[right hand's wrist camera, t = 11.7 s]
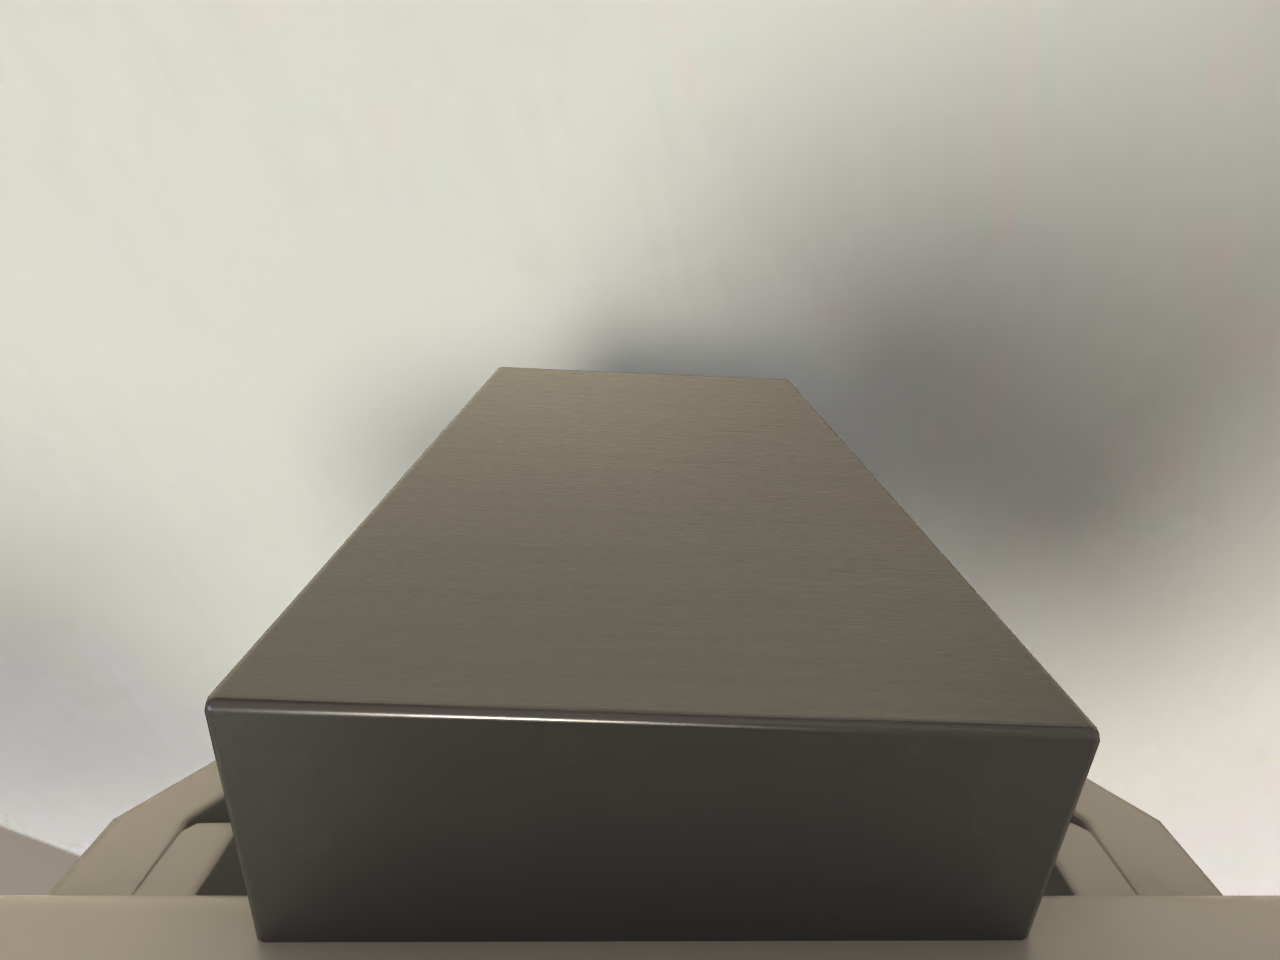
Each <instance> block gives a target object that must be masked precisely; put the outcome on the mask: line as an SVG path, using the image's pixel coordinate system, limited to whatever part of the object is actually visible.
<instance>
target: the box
mask: <svg viewBox="0 0 1280 960" xmlns="http://www.w3.org/2000/svg"><path fill="white" fill-rule="evenodd" d="M205 715H206V719H207V723H208V728H209V732H210V736H211V741H212V745H213V749H214V754H215V758H216V762H217V767H218V771H219V775H220V779H221V784H222V788H223V792H224V797H225V801H226V805H227V810H228V814H229V818H230V823H231V827H232V831H233V836H234V840H235V844H236V848H237V853H238V857H239V861H240V866H241V870H242V874H243V879H244V883H245V887H246V892H247V896H248V900H249V904H250V909H251V913H252V917H253V922H254V926H255V930H256V935H257V939H258V940H260V941H262V942H610V941H991V940H1023V939H1025V938H1027V937H1028V935H1029V932H1030V929H1031V927H1032V924H1033V921H1034V918H1035V916H1036V913H1037V910H1038V908H1039V905H1040V902H1041V899H1042V897H1043V894H1044V891H1045V889H1046V886H1047V883H1048V880H1049V878H1050V875H1051V872H1052V870H1053V867H1054V864H1055V862H1056V859H1057V856H1058V853H1059V851H1060V848H1061V845H1062V843H1063V840H1064V837H1065V834H1066V832H1067V829H1068V826H1069V824H1070V821H1071V818H1072V815H1073V813H1074V810H1075V807H1076V805H1077V802H1078V799H1079V797H1080V794H1081V791H1082V788H1083V786H1084V783H1085V780H1086V778H1087V775H1088V772H1089V769H1090V767H1091V764H1092V761H1093V759H1094V756H1095V753H1096V750H1097V748H1098V745H1099V742H1100V738H1099V732H1098V730H1097V727H1096V726H1095V725H1094V724H1093V723H1092V722H1091V721H1090V720H1089V718H1088V717H1087V716H1086V715H1085V714H1084V713H1083V712H1082V711H1081V709H1080V708H1079V707H1078V706H1077V705H1076V704H1075V703H1074V702H1073V700H1072V699H1071V698H1070V697H1069V696H1068V695H1067V694H1066V693H1065V691H1064V690H1063V689H1062V688H1061V687H1060V686H1059V685H1058V684H1057V682H1056V681H1055V680H1054V679H1053V678H1052V677H1051V676H1050V675H1049V673H1048V672H1047V671H1046V670H1045V669H1044V668H1043V667H1042V665H1041V664H1040V663H1039V662H1038V661H1037V660H1036V659H1035V658H1034V656H1033V655H1032V654H1031V653H1030V652H1029V651H1028V650H1027V649H1026V647H1025V646H1024V645H1023V644H1022V643H1021V642H1020V641H1019V640H1018V638H1017V637H1016V636H1015V635H1014V634H1013V633H1012V632H1011V631H1010V629H1009V628H1008V627H1007V626H1006V625H1005V624H1004V623H1003V622H1002V620H1001V619H1000V618H999V617H998V616H997V615H996V614H995V613H994V611H993V610H992V609H991V608H990V607H989V606H988V605H987V604H986V602H985V601H984V600H983V599H982V598H981V597H980V596H979V595H978V593H977V592H976V591H975V590H974V589H973V588H972V587H971V586H970V584H969V583H968V582H967V581H966V580H965V579H964V578H963V577H962V575H961V574H960V573H959V572H958V571H957V570H956V569H955V567H954V566H953V565H952V564H951V563H950V562H949V561H948V560H947V558H946V557H945V556H944V555H943V554H942V553H941V552H940V551H939V549H938V548H937V547H936V546H935V545H934V544H933V543H932V542H931V540H930V539H929V538H928V537H927V536H926V535H925V534H924V533H923V531H922V530H921V529H920V528H919V527H918V526H917V525H916V524H915V522H914V521H913V520H912V519H911V518H910V517H909V516H908V515H907V513H906V512H905V511H904V510H903V509H902V508H901V507H900V506H899V504H898V503H897V502H896V501H895V500H894V499H893V498H892V497H891V495H890V494H889V493H888V492H887V491H886V490H885V489H884V488H883V486H882V485H881V484H880V483H879V482H878V481H877V480H876V479H875V477H874V476H873V475H872V474H871V473H870V472H869V471H868V470H867V468H866V467H865V466H864V465H863V464H862V463H861V462H860V460H859V459H858V458H857V457H856V456H855V455H854V454H853V453H852V451H851V450H850V449H849V448H848V447H847V446H846V445H845V444H844V442H843V441H842V440H841V439H840V438H839V437H838V436H837V435H836V433H835V432H834V431H833V430H832V429H831V428H830V427H829V426H828V424H827V423H826V422H825V421H824V420H823V419H822V418H821V417H820V415H819V414H818V413H817V412H816V411H815V410H814V409H813V408H812V406H811V405H810V404H809V403H808V402H807V401H806V400H805V399H804V397H803V396H802V395H801V394H800V393H799V392H798V391H797V390H796V388H795V387H794V386H793V385H792V384H791V383H790V382H789V381H788V380H779V379H757V378H734V377H712V376H690V375H667V374H645V373H622V372H600V371H577V370H555V369H532V368H510V367H501V368H498V370H497V371H496V372H495V373H494V374H493V375H492V376H491V377H490V379H489V380H488V381H487V382H486V383H485V384H484V385H483V386H482V388H481V389H480V390H479V391H478V392H477V393H476V394H475V396H474V397H473V398H472V399H471V400H470V401H469V402H468V403H467V405H466V406H465V407H464V408H463V409H462V410H461V411H460V412H459V414H458V415H457V416H456V417H455V418H454V419H453V420H452V422H451V423H450V424H449V425H448V426H447V427H446V428H445V429H444V431H443V432H442V433H441V434H440V435H439V436H438V437H437V439H436V440H435V441H434V442H433V443H432V444H431V445H430V446H429V448H428V449H427V450H426V451H425V452H424V453H423V454H422V455H421V457H420V458H419V459H418V460H417V461H416V462H415V463H414V465H413V466H412V467H411V468H410V469H409V470H408V471H407V472H406V474H405V475H404V476H403V477H402V478H401V479H400V480H399V482H398V483H397V484H396V485H395V486H394V487H393V488H392V489H391V491H390V492H389V493H388V494H387V495H386V496H385V497H384V498H383V500H382V501H381V502H380V503H379V504H378V505H377V506H376V508H375V509H374V510H373V511H372V512H371V513H370V514H369V515H368V517H367V518H366V519H365V520H364V521H363V522H362V523H361V525H360V526H359V527H358V528H357V529H356V530H355V531H354V532H353V534H352V535H351V536H350V537H349V538H348V539H347V540H346V541H345V543H344V544H343V545H342V546H341V547H340V548H339V549H338V551H337V552H336V553H335V554H334V555H333V556H332V557H331V558H330V560H329V561H328V562H327V563H326V564H325V565H324V566H323V567H322V569H321V570H320V571H319V572H318V573H317V574H316V575H315V577H314V578H313V579H312V580H311V581H310V582H309V583H308V584H307V586H306V587H305V588H304V589H303V590H302V591H301V592H300V594H299V595H298V596H297V597H296V598H295V599H294V600H293V601H292V603H291V604H290V605H289V606H288V607H287V608H286V609H285V610H284V612H283V613H282V614H281V615H280V616H279V617H278V618H277V620H276V621H275V622H274V623H273V624H272V625H271V626H270V627H269V629H268V630H267V631H266V632H265V633H264V634H263V635H262V637H261V638H260V639H259V640H258V641H257V642H256V643H255V644H254V646H253V647H252V648H251V649H250V650H249V651H248V652H247V653H246V655H245V656H244V657H243V658H242V659H241V660H240V661H239V663H238V664H237V665H236V666H235V667H234V668H233V669H232V670H231V672H230V673H229V674H228V675H227V676H226V677H225V678H224V680H223V681H222V682H221V683H220V684H219V685H218V686H217V687H216V689H215V690H214V691H213V692H212V693H211V694H210V695H209V696H208V699H207V702H206V705H205Z"/></svg>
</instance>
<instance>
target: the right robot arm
mask: <svg viewBox="0 0 1280 960" xmlns="http://www.w3.org/2000/svg"><path fill="white" fill-rule="evenodd" d="M0 960H1280V896H1223V895H1222V894H1221V893H1220V891H1219V890H1218V889H1217V888H1216V887H1215V886H1214V884H1213V883H1212V882H1211V881H1210V880H1209V878H1208V877H1207V876H1206V875H1205V874H1204V873H1203V871H1202V870H1201V869H1200V868H1199V867H1198V866H1197V864H1196V863H1195V862H1194V861H1193V860H1192V858H1191V857H1190V856H1189V855H1188V854H1187V853H1186V851H1185V850H1184V849H1183V848H1182V847H1181V846H1180V844H1179V843H1178V842H1177V841H1176V840H1175V838H1174V837H1173V836H1172V835H1171V834H1170V833H1169V831H1168V830H1167V829H1166V828H1165V827H1164V825H1163V824H1162V823H1161V822H1160V821H1159V820H1157V819H1155V818H1154V817H1152V816H1150V815H1148V814H1147V813H1145V812H1143V811H1142V810H1140V809H1138V808H1137V807H1135V806H1133V805H1131V804H1130V803H1128V802H1126V801H1125V800H1123V799H1121V798H1119V797H1118V796H1116V795H1114V794H1113V793H1111V792H1109V791H1107V790H1106V789H1104V788H1102V787H1101V786H1099V785H1097V784H1096V783H1094V782H1092V781H1090V780H1089V779H1087V778H1086V780H1085V783H1084V786H1083V788H1082V791H1081V794H1080V797H1079V799H1078V802H1077V805H1076V807H1075V810H1074V813H1073V815H1072V818H1071V821H1070V824H1069V826H1068V829H1067V832H1066V834H1065V837H1064V840H1063V843H1062V845H1061V848H1060V851H1059V853H1058V856H1057V859H1056V862H1055V864H1054V867H1053V870H1052V872H1051V875H1050V878H1049V880H1048V883H1047V886H1046V889H1045V891H1044V894H1043V897H1042V899H1041V902H1040V905H1039V908H1038V910H1037V913H1036V916H1035V918H1034V921H1033V924H1032V927H1031V929H1030V932H1029V935H1028V937H1027V938H1025V939H1023V940H991V941H610V942H262V941H260V940H258V939H257V935H256V930H255V926H254V922H253V917H252V913H251V909H250V904H249V900H248V896H247V892H246V887H245V883H244V879H243V874H242V870H241V866H240V861H239V857H238V853H237V848H236V844H235V840H234V836H233V831H232V827H231V823H230V818H229V814H228V810H227V805H226V801H225V797H224V792H223V788H222V784H221V779H220V775H219V771H218V767H217V762H216V761H214V762H212V763H210V764H209V765H207V766H205V767H204V768H202V769H200V770H198V771H197V772H195V773H193V774H191V775H190V776H188V777H186V778H185V779H183V780H181V781H179V782H178V783H176V784H174V785H172V786H171V787H169V788H167V789H166V790H164V791H162V792H160V793H159V794H157V795H155V796H153V797H152V798H150V799H148V800H146V801H145V802H143V803H141V804H140V805H138V806H136V807H134V808H133V809H131V810H129V811H127V812H126V813H124V814H122V815H121V816H119V817H117V818H115V819H114V820H112V821H111V823H110V824H109V825H108V826H107V827H106V828H105V830H104V831H103V832H102V833H101V834H100V835H99V836H98V838H97V839H96V840H95V841H94V842H93V843H92V844H91V846H90V847H89V848H88V849H87V850H86V851H85V853H84V854H83V855H82V856H81V857H80V858H79V859H78V861H77V862H76V863H75V864H74V865H73V866H72V867H71V869H70V870H69V871H68V872H67V873H66V874H65V876H64V877H63V878H62V879H61V880H60V881H59V882H58V884H57V885H56V886H55V887H54V888H53V889H52V890H51V892H50V893H49V894H48V895H0Z"/></svg>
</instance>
